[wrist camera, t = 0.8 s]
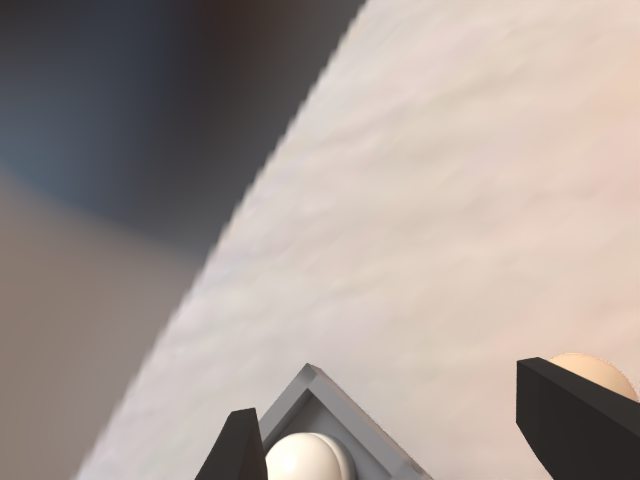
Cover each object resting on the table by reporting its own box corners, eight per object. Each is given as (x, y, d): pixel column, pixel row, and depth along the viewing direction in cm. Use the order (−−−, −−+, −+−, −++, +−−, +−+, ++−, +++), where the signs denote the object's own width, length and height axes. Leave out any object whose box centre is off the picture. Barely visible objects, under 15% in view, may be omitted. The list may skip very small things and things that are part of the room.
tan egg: (640, 401, 22) (677, 392, 17) (590, 470, 21) (615, 479, 17) (556, 345, 24) (571, 325, 20) (509, 407, 24) (514, 401, 19)
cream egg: (371, 473, 24) (346, 481, 20) (321, 538, 24) (284, 560, 19) (318, 416, 26) (285, 413, 22) (271, 474, 26) (228, 482, 22)
